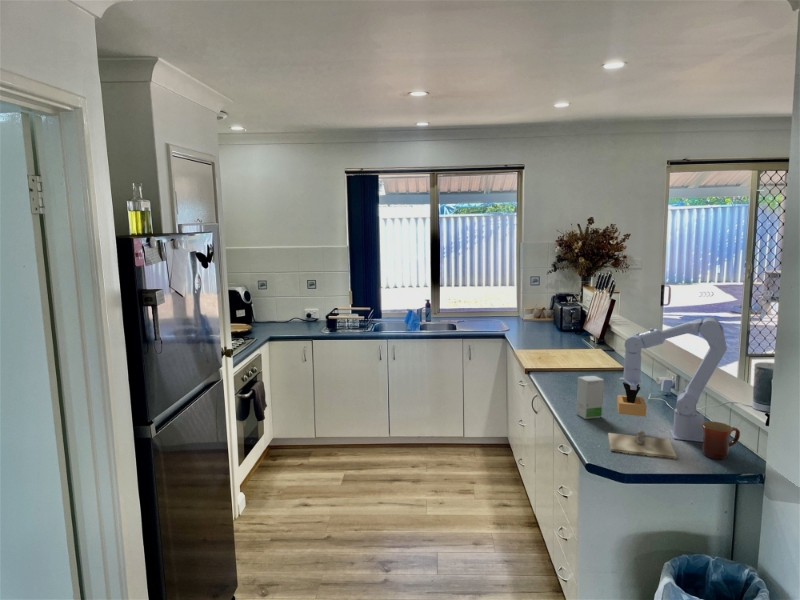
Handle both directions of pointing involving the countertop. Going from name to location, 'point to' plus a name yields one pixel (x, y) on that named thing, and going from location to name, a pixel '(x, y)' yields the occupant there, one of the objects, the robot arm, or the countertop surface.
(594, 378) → the skincare box
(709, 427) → the mug
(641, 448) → the plate
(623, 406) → the wooden open tray
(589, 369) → the countertop surface
